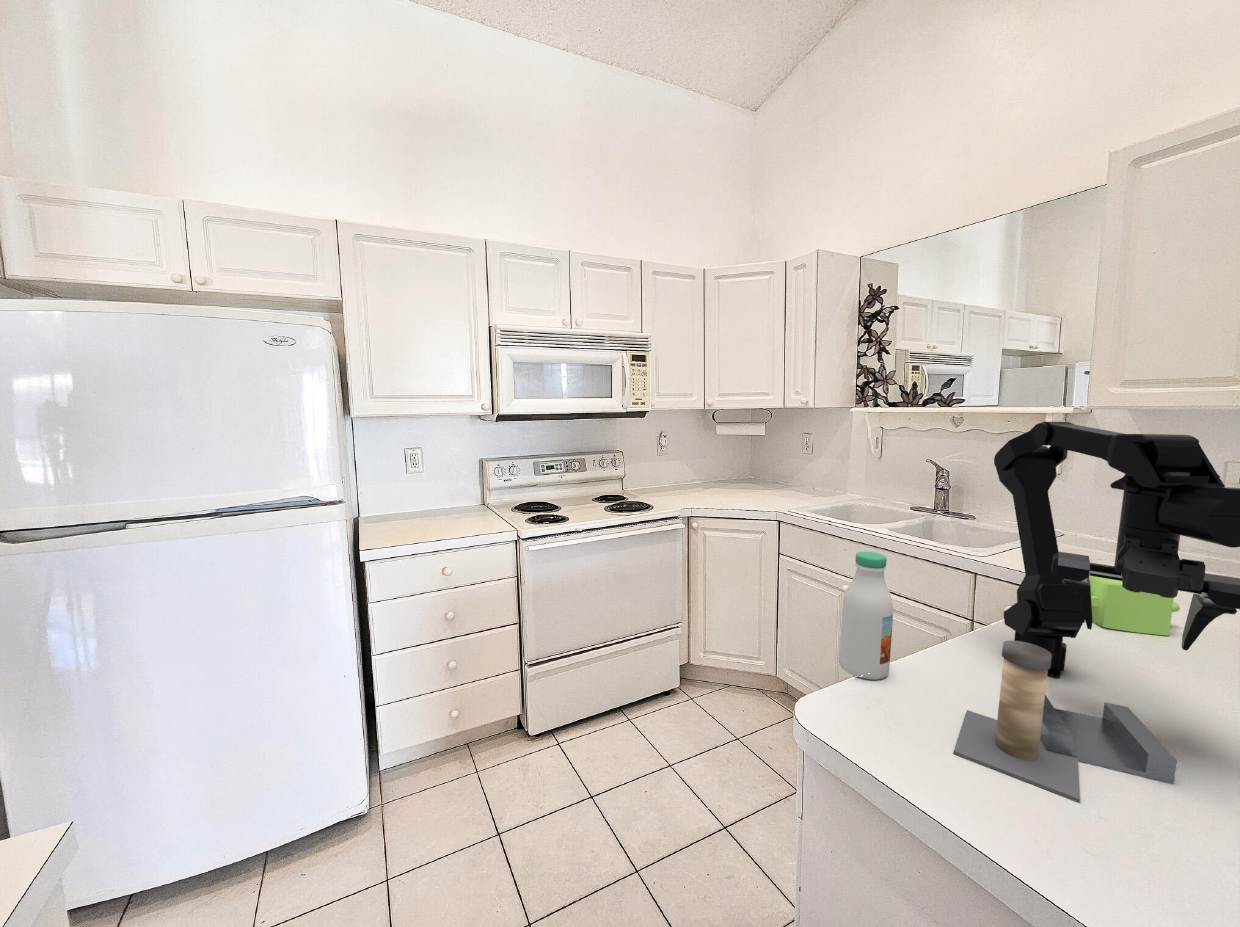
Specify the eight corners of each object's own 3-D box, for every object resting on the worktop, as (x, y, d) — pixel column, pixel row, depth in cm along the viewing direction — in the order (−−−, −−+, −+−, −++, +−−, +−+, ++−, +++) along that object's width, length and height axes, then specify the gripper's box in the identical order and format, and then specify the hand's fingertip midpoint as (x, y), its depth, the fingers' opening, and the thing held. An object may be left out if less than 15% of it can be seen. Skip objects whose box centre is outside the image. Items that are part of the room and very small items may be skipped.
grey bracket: (1019, 704, 76) (1021, 685, 75) (1125, 726, 71) (1127, 706, 70) (1046, 753, 65) (1048, 731, 65) (1173, 783, 60) (1176, 760, 60)
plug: (986, 743, 66) (996, 645, 65) (1003, 732, 68) (1013, 637, 67) (1030, 766, 62) (1041, 661, 60) (1046, 753, 64) (1058, 652, 63)
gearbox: (1161, 623, 108) (1166, 579, 107) (1198, 640, 99) (1204, 593, 98) (1059, 610, 113) (1064, 569, 113) (1085, 626, 104) (1090, 581, 103)
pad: (953, 753, 65) (953, 750, 65) (966, 712, 74) (966, 709, 74) (1079, 802, 57) (1079, 799, 57) (1077, 749, 66) (1077, 746, 66)
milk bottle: (865, 685, 81) (874, 563, 78) (828, 662, 88) (835, 550, 85) (899, 675, 84) (908, 558, 82) (860, 654, 91) (868, 546, 89)
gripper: (1057, 525, 68) (1045, 636, 69) (1280, 553, 56) (1259, 687, 57) (1057, 513, 76) (1046, 613, 78) (1251, 535, 64) (1233, 652, 66)
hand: (1134, 638), depth 69 cm, fingers open, 9 cm apart
